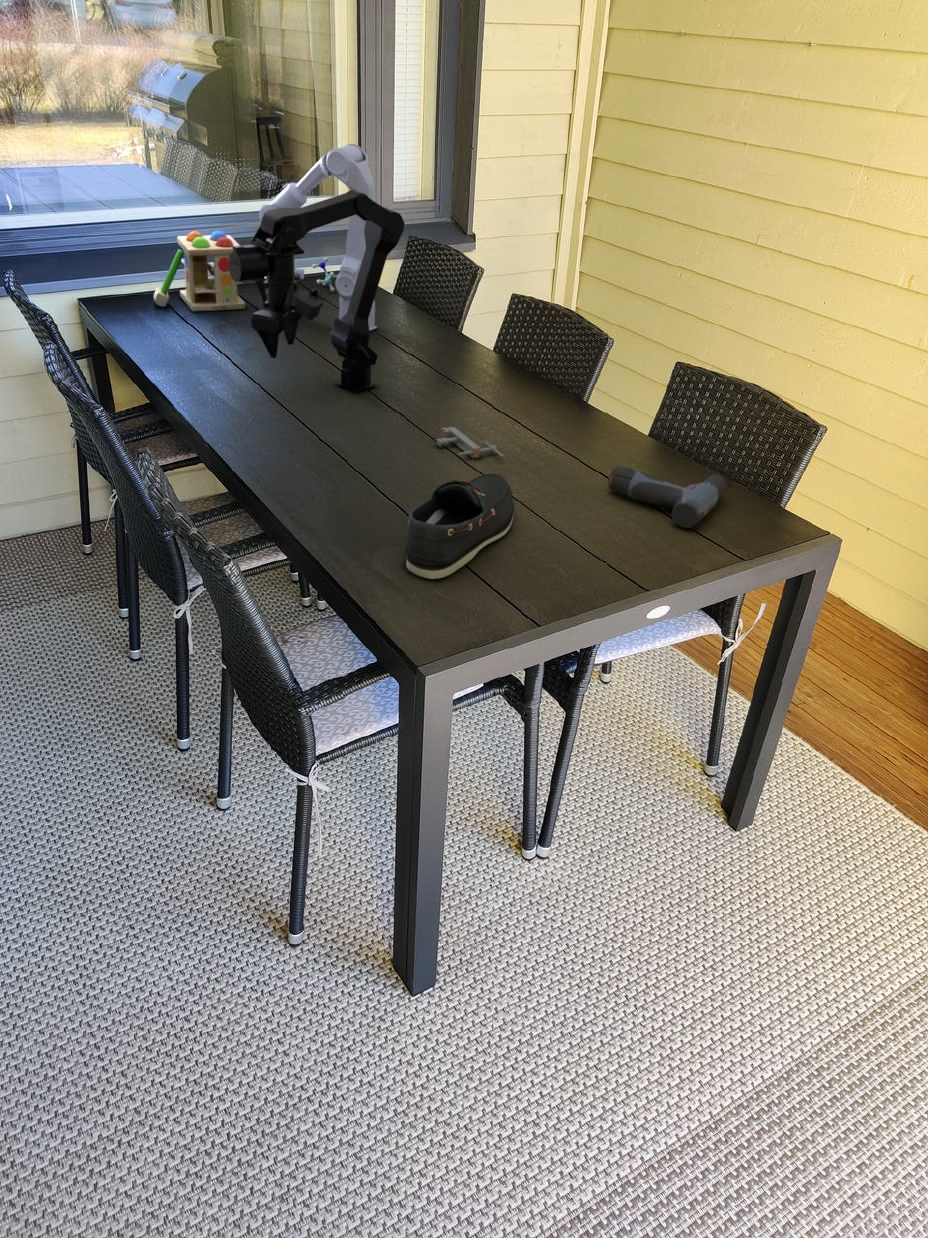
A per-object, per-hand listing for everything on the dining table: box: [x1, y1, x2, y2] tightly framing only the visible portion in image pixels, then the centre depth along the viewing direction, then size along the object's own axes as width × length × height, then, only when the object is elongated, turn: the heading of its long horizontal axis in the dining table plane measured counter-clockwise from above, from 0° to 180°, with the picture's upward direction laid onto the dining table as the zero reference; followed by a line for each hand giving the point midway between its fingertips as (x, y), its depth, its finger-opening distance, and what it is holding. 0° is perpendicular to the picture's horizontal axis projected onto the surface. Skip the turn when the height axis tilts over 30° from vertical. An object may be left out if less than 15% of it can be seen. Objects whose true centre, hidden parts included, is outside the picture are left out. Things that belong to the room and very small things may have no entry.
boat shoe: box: [403, 472, 515, 580], centre depth 170 cm, size 13×33×10 cm, turn 147°
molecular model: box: [311, 256, 339, 293], centre depth 286 cm, size 12×10×10 cm
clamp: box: [436, 426, 507, 460], centre depth 201 cm, size 15×2×10 cm
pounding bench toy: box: [153, 230, 246, 312], centre depth 261 cm, size 23×14×18 cm, turn 116°
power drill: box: [607, 465, 727, 529], centre depth 189 cm, size 5×19×20 cm
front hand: (282, 350), depth 210 cm, fingers open, 9 cm apart
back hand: (276, 304), depth 263 cm, fingers closed on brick, 6 cm apart
